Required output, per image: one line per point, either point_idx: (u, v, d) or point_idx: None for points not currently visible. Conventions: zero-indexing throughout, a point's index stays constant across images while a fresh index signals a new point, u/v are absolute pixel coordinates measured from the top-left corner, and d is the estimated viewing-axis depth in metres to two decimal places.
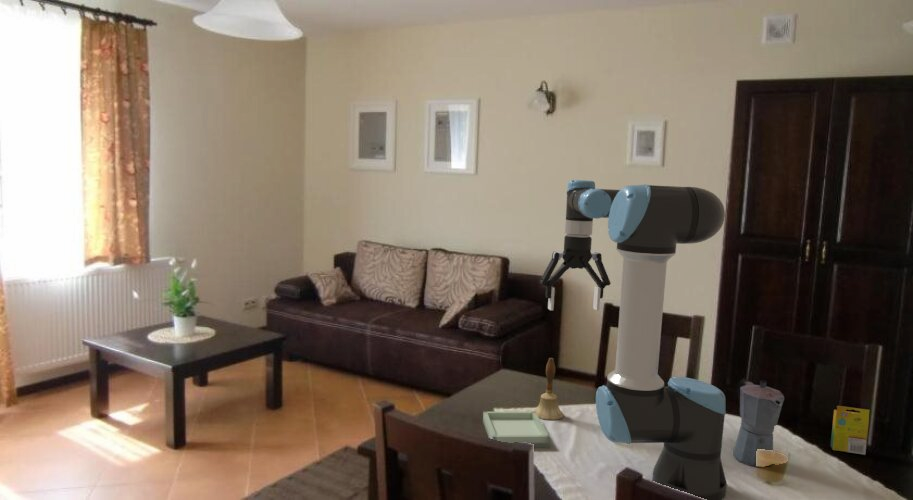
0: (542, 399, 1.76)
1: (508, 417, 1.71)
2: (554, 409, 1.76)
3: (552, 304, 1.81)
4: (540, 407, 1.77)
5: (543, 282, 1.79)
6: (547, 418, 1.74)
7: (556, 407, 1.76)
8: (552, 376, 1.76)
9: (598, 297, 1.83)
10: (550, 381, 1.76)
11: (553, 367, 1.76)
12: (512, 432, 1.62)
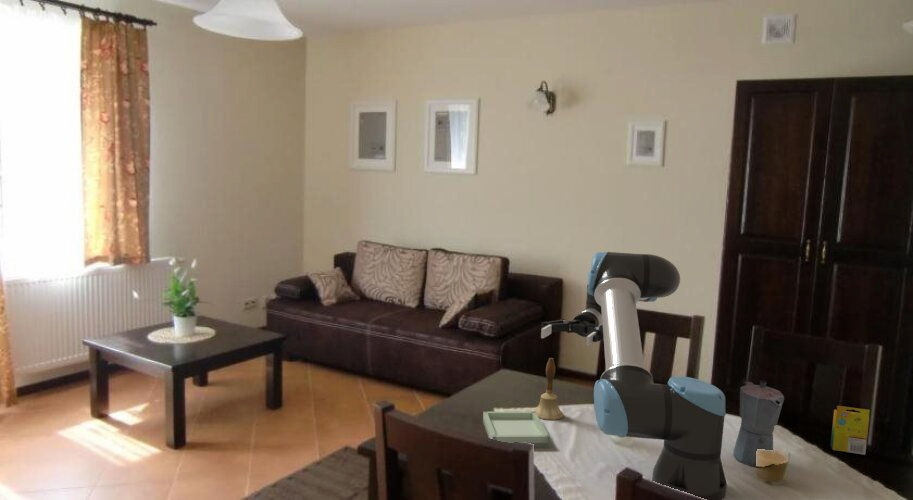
0: (542, 399, 1.76)
1: (508, 417, 1.71)
2: (554, 409, 1.76)
3: (544, 327, 1.89)
4: (540, 407, 1.77)
5: (543, 322, 1.95)
6: (547, 418, 1.74)
7: (556, 407, 1.76)
8: (552, 376, 1.76)
9: (591, 333, 1.84)
10: (550, 381, 1.76)
11: (553, 367, 1.76)
12: (512, 432, 1.62)
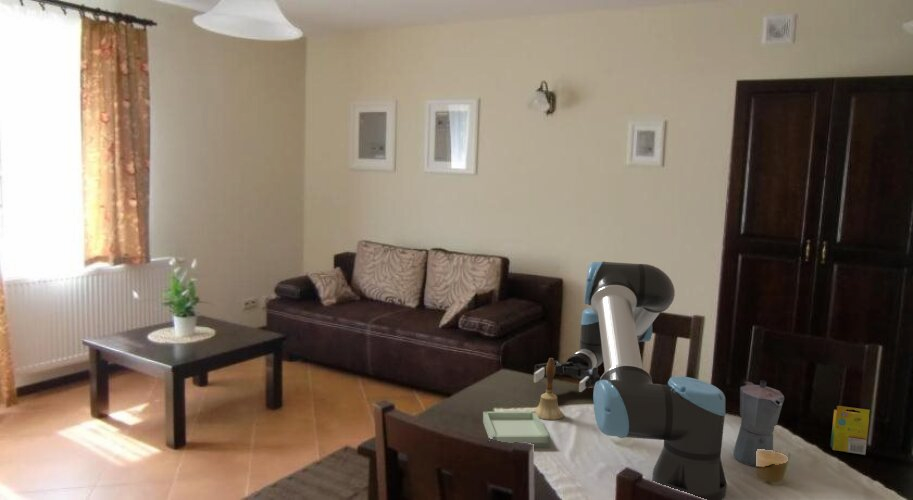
0: (542, 399, 1.76)
1: (508, 417, 1.71)
2: (554, 409, 1.76)
3: (537, 371, 1.88)
4: (540, 407, 1.77)
5: (536, 365, 1.95)
6: (547, 418, 1.74)
7: (556, 407, 1.76)
8: (552, 376, 1.76)
9: (584, 378, 1.83)
10: (550, 381, 1.76)
11: (553, 367, 1.76)
12: (512, 432, 1.62)
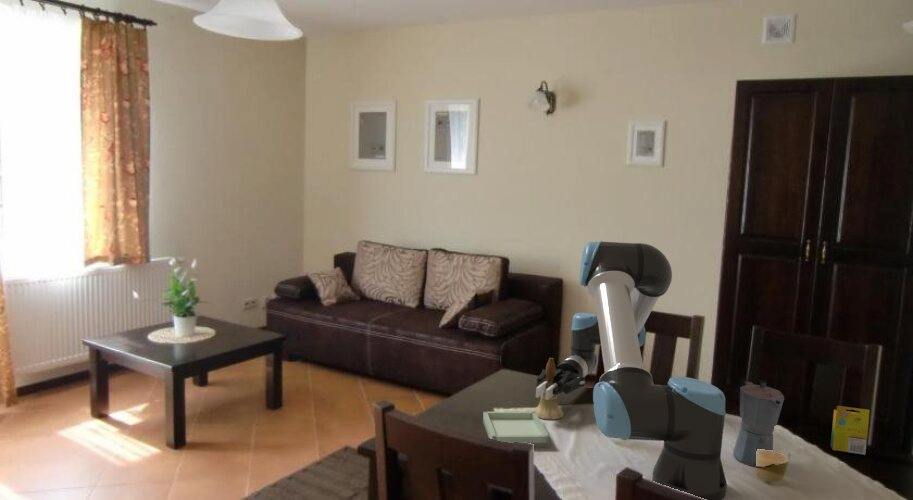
0: (542, 399, 1.76)
1: (508, 417, 1.71)
2: (554, 409, 1.76)
3: (539, 386, 1.74)
4: (540, 407, 1.77)
5: (537, 378, 1.81)
6: (547, 418, 1.74)
7: (556, 407, 1.76)
8: (552, 376, 1.76)
9: (551, 386, 1.75)
10: (550, 381, 1.76)
11: (553, 367, 1.76)
12: (512, 432, 1.62)
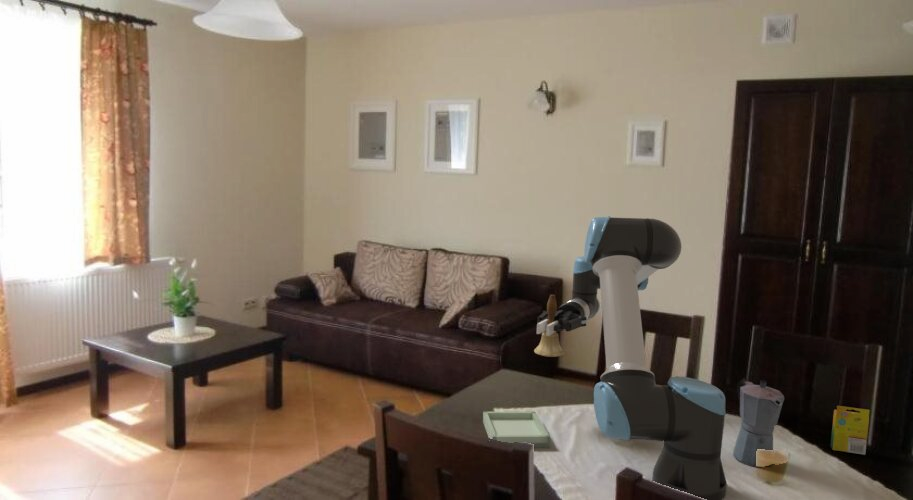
0: (543, 336, 1.74)
1: (508, 417, 1.71)
2: (555, 346, 1.73)
3: (540, 322, 1.71)
4: (541, 344, 1.74)
5: (538, 317, 1.78)
6: (548, 355, 1.71)
7: (557, 344, 1.73)
8: (553, 313, 1.73)
9: (553, 322, 1.72)
10: (551, 318, 1.73)
11: (554, 303, 1.73)
12: (512, 432, 1.62)
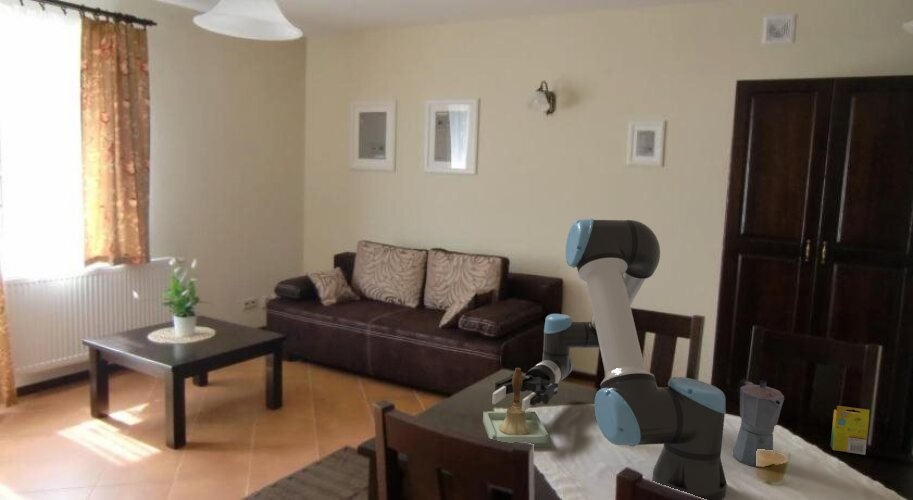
0: (508, 413, 1.62)
1: None
2: (521, 424, 1.61)
3: (496, 391, 1.62)
4: (506, 421, 1.62)
5: (496, 382, 1.69)
6: (513, 434, 1.60)
7: (523, 421, 1.62)
8: (519, 388, 1.62)
9: (529, 395, 1.60)
10: (517, 393, 1.62)
11: (520, 378, 1.61)
12: None
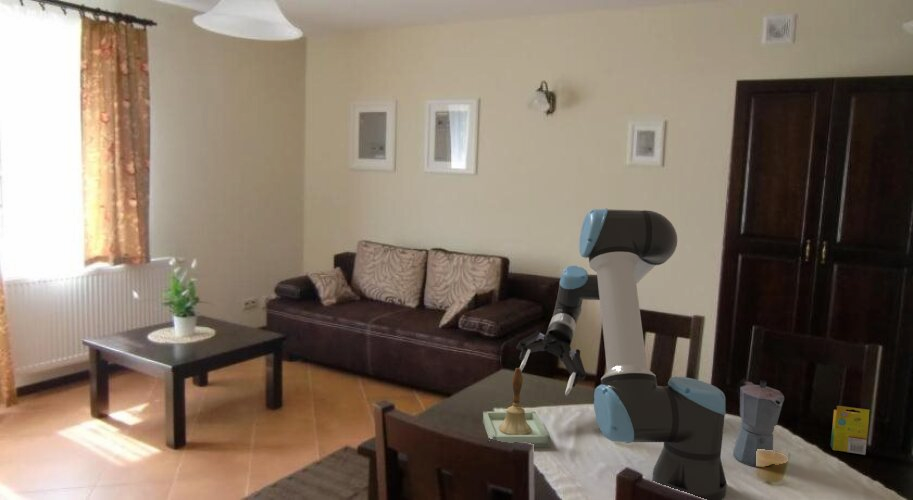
0: (508, 413, 1.62)
1: None
2: (521, 424, 1.61)
3: (525, 360, 1.72)
4: (506, 421, 1.62)
5: (520, 341, 1.78)
6: (513, 434, 1.60)
7: (523, 421, 1.62)
8: (519, 388, 1.62)
9: (572, 379, 1.73)
10: (517, 393, 1.62)
11: (520, 378, 1.61)
12: None
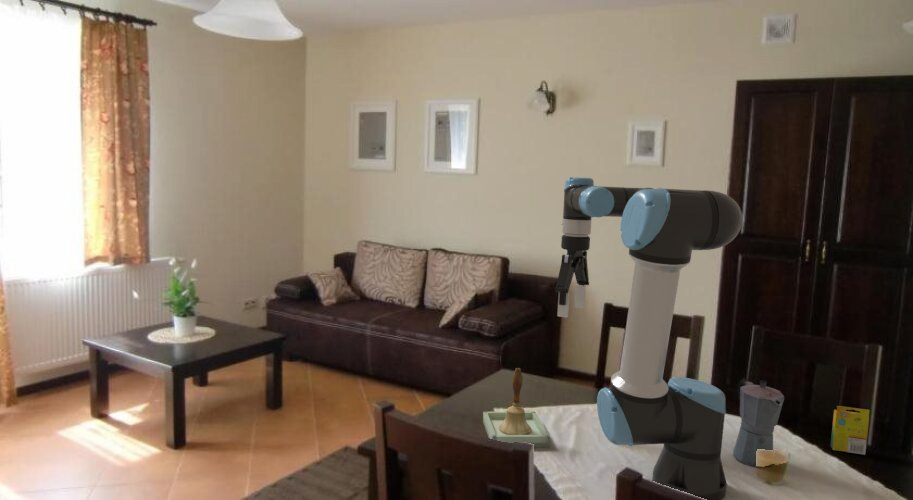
0: (508, 413, 1.62)
1: None
2: (521, 424, 1.61)
3: (567, 310, 1.69)
4: (506, 421, 1.62)
5: (565, 289, 1.66)
6: (513, 434, 1.60)
7: (523, 421, 1.62)
8: (519, 388, 1.62)
9: (584, 295, 1.81)
10: (517, 393, 1.62)
11: (520, 378, 1.61)
12: None
